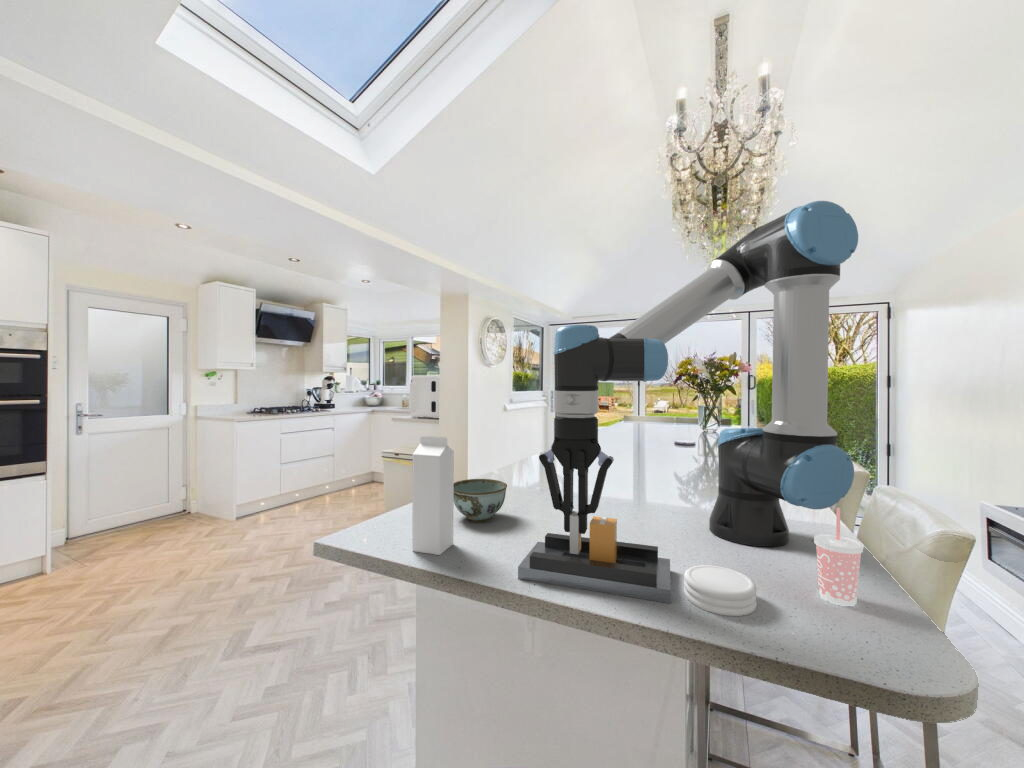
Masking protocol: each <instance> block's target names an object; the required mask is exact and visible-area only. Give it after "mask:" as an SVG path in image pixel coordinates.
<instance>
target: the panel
mask: <svg viewBox="0 0 1024 768" xmlns="http://www.w3.org/2000/svg"><path fill="white" fill-rule="evenodd" d="M589 556H590V537H583V536H581V550H580V552H579V554H572V553H570V534H569V535H568V534H561V533H559V534H558V533H550V532H547V533H546V535H544V541H537V542H536V543H535V545H534V546H533V547H532V548H531V550H530V551H528V554H527V555H526V556H525V557H524V558H523V560H522V561H521V562H520V564H519V565H518V566H517V579H519V580H524V581H525V580H526V581H531V582H537V583H542V584H549V585H554V586H561V587H568V588H572V589H573V588H574V589H579V590H587V591H592V592H597V593H603V594H611V595H615V596H616V595H617V596H622V597H629V598H635V599H641V600H647V601H654V602H659V603H664V602H665V604H671V598H672V597H671V589H672V588H671V559H670V558H667V557H666V558H664V557H659V546H656V545H655V546H654V545H650V544H649V545H647V544H641V543H640V544H639V543H631V542H625V541H624V542H623V541H617V552H616V563H610V562H603V561H596V560H589Z"/></svg>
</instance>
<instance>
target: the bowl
mask: <svg viewBox="0 0 1024 768" xmlns="http://www.w3.org/2000/svg"><path fill="white" fill-rule="evenodd" d="M507 487H508V484H507V483H506V482H505V481H501V480H497V479H491V478H470V479H462V480H458V481H454V506H455V508H456V509H457V511H459V513H460V514H462V515H463V516H465V518H466V520H467V519H468V520H467V521H469V522H472V521H474V522H475V523H483V522H489V521H490V520H492V518H493V516H494V515H495V514H496V513H497V512H498V511H500V509H502V506H503V505H504V503H505V499H506V494H507ZM474 522H473V523H474Z"/></svg>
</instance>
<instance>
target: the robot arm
mask: <svg viewBox="0 0 1024 768" xmlns="http://www.w3.org/2000/svg"><path fill="white" fill-rule="evenodd" d="M856 224H857V223H856V221H855V220H854V218H853V217H852V216H851V214H850V213H848V212H847V211H846V210H845V208H844V207H842V206H841V205H839V204H837V203H835V202H833V201H828V200H816V201H812V202H808V203H806V204H804V205H800V206H797V207H794V208H792V209H791V210H790V211H789V212H787V213H785V214H783V215H781V216H779V217H777V218H775V219H773V220H771V221H769V222H767V223H765V224H763V225H760V226H758V227H756V228H754V229H753V230H751V231H750V232H748V233H747V234H745V236H743V237H742V238H741V239H739V240H738V241H736V242H735V244H733V245H732V246H731V247H729V248H727V249H726V250H725V251H724V252H723V253H722V254H720V255H719V256H717V257H716V258H714V259H713V260H712V261H710V262H709V264H708V265H707V269H706V271H704V272H703V273H701V274H700V275H699V276H697V277H696V278H694V279H693V280H691V281H690V282H689V283H687V284H685V285H684V286H682V287H681V288H680V289H678V290H677V291H676V292H674V293H672V294H670V295H669V296H668V297H666V298H665V299H664V300H662V301H661V302H660V303H658V304H657V305H655V306H654V307H652V308H651V309H650V310H648V311H646V312H645V313H643V314H642V315H641V316H640V317H638V318H636V319H634V320H633V321H632V322H631V323H629V324H628V325H627V326H625V327H623V328H622V329H620V330H619V331H618V332H616V333H615V334H613V335H612V336H610V337H609V338H607V337H600V334H599V329H598V327H597V326H596V325H593V324H592V325H590V324H568V325H563V326H560V327H559V328H558V327H557V329H556V331H555V333H554V334H555V335H554V348H553V349H554V350H553V355H554V358H553V359H554V363H553V364H554V365H553V366H554V391H553V393H554V394H553V395H554V397H553V398H554V399H553V401H554V402H553V403H554V404H553V405H554V407H553V409H554V410H553V411H554V413H555V414H557V416H555V417H554V418H553V419H554V420H553V436H554V437H553V438H554V439H553V443H552V444H551V446H550V448H551V449H548V451H546V452H545V451H544V452H542V453H540V455H539V456H538V459H539V462H540V463H541V464H542V466H543V468H544V471H545V476H546V480H547V484H548V490H549V494H550V497H551V501H552V502H551V503H552V506H553V509H554V510H556V511H557V510H559V511H561V512H562V514H563V529H564V532H565V533H569V536H570V553H572V554H579V552H580V550H581V537H582V535H585V534H586V532H587V530H588V514H595V513H596V512H597V510H598V508H599V506H600V505H599V504H600V500H601V498H602V494H603V489H604V485H605V481H606V477H607V474H608V473H607V472H608V470H609V469H610V467H611V465H612V464H613V462H614V461H615V459H614V457H613V456H612V455H610V456H608V454H606V453H605V452H603V451H602V447H601V445H600V443H599V419H598V417H597V416H595V415H596V414H597V413H599V382H643V383H647V382H654V381H660V380H661V379H662V378H663V377H664V376H665V374H666V372H667V370H668V367H669V366H668V365H669V352H668V349H667V346H666V344H667V343H668V342H670V341H671V340H672V339H674V338H675V337H676V336H678V335H680V334H681V333H682V332H684V331H685V330H686V329H688V328H689V327H691V326H693V325H695V323H697V322H698V321H700V320H701V319H702V318H704V317H706V316H707V315H708V314H710V313H711V312H713V311H714V310H716V309H717V308H718V307H719V306H721V305H723V304H724V303H725V302H726V301H727V302H728V300H734V301H735V300H738V299H739V298H741V297H742V296H744V295H745V294H748V293H749V292H751V291H753V290H755V289H758V288H761V287H763V286H764V288H766V289H767V290H768V291H769V292H771V293H772V294H773V311H772V313H773V317H772V318H773V323H772V324H773V326H772V327H773V328H772V378H771V379H772V383H771V386H772V387H771V388H772V390H771V391H772V392H771V420H770V421H769V423H767V424H765V426H763V427H743V428H742V427H741V428H739V427H738V428H736V427H735V428H724V429H722V430H720V432H719V436H718V442H717V443H718V444H717V448H718V471H717V472H718V483H717V484H718V486H717V487H718V489H717V490H718V491H717V492H718V494H717V497H716V501H715V503H714V506H713V508H712V511H711V513H710V517H709V519H708V520H709V526H708V527H709V531H710V532H711V533H712V534H713V535H715V536H717V537H719V538H722V539H723V540H727V541H729V542H732V543H733V542H734V543H738V544H743V545H747V546H748V545H749V546H755V547H779V546H783V544H784V545H786V544H788V543H787V542H789V541H790V533H789V532H790V530H789V529H790V528H789V526H788V524H787V521H786V518H785V514H784V512H783V509H782V506H781V503H780V500H782V501H784V502H787V503H789V504H790V505H793V506H796V507H802V508H806V509H809V510H823V509H824V510H825V509H828V508H831V507H832V506H835V505H836V504H838V503H839V502H840V501H841V499H843V498H845V497H846V496H847V494H848V493H849V491H850V490H851V488H852V485H853V481H854V478H855V467H854V463H853V460H852V458H850V457H849V454H848V452H846V451H844V450H843V449H842V448H841V447H839V446H838V432H837V431H836V430H835V429H833V428H832V427H831V426H830V425H829V423H828V399H829V398H828V397H829V395H828V394H829V393H828V385H829V335H830V334H829V331H830V330H829V329H830V328H829V327H830V321H829V320H830V290H831V289H832V288H833V287H834V286H835V285H836V284H837V283H838V282H839V281H840V280H841V264H844V263H845V262H846V261H847V260H848V259H850V258H851V257H852V254H853V253H855V251H856V249H857V247H858V243H859V231H858V227H857V225H856ZM597 458H598V462H597V464H598V466H599V469H598V472H597V475H596V480H595V482H594V487H593V492H592V496H591V499H590V502H589V497H588V496H589V494H588V493H589V468H590V467H591V466H592V464H593V463H594V461H595V460H596V459H597ZM555 459H557V461H558V462H559V464H560V465H561V467H562V475H563V496H562V491H561V486H560V482H559V479H558V473H557V470H556V464H555V463H554V461H555ZM574 470H577V476H578V479H577V481H578V482H577V483H578V486H577V488H578V489H577V491H578V492H577V494H578V496H577V498H578V502H577V503H578V505H577V507H578V510H577V511H576V510H573V509H574V508H575V506H574V472H575V471H574Z"/></svg>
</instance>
